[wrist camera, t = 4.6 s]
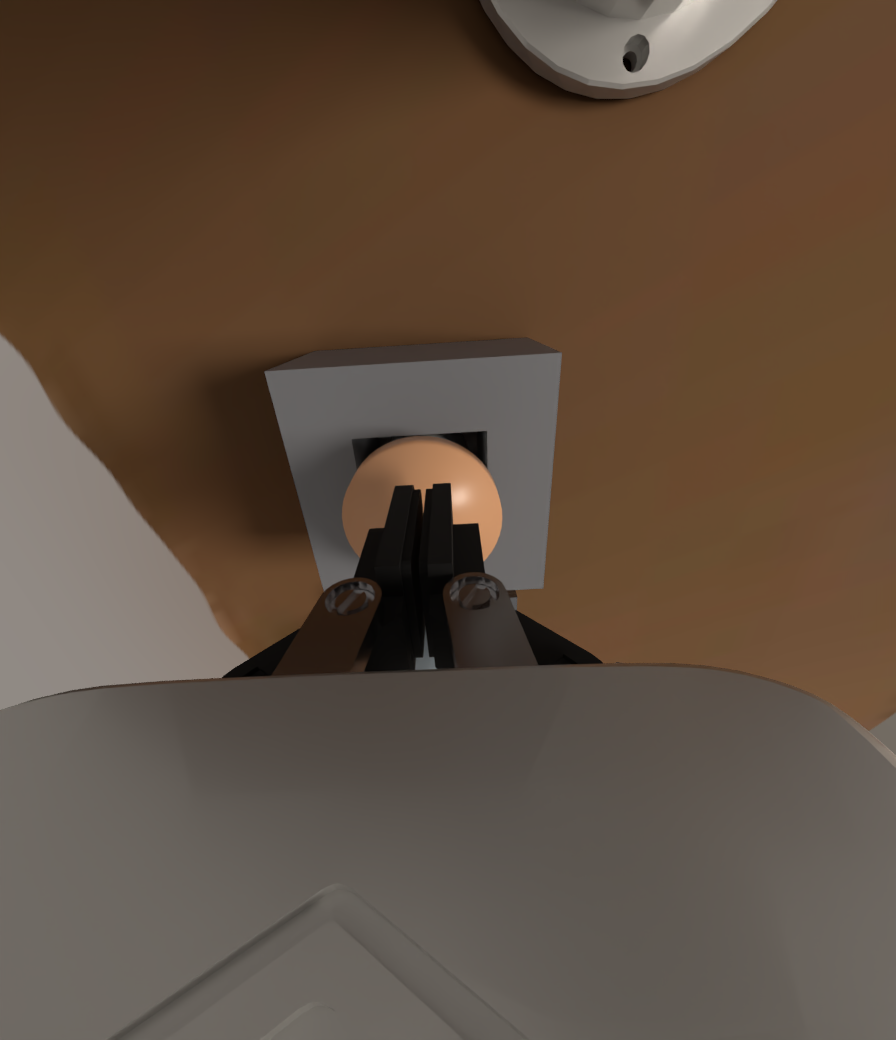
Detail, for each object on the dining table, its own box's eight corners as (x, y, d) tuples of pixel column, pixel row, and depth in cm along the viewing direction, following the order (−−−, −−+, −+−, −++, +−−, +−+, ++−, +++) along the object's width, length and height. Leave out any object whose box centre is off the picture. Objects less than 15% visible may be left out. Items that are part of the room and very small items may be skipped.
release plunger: (362, 403, 18) (326, 450, 12) (484, 396, 18) (503, 440, 12) (380, 510, 21) (356, 588, 15) (485, 504, 21) (501, 581, 15)
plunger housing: (314, 351, 18) (264, 371, 13) (527, 337, 18) (561, 352, 13) (352, 532, 23) (326, 599, 18) (520, 523, 23) (543, 588, 18)
